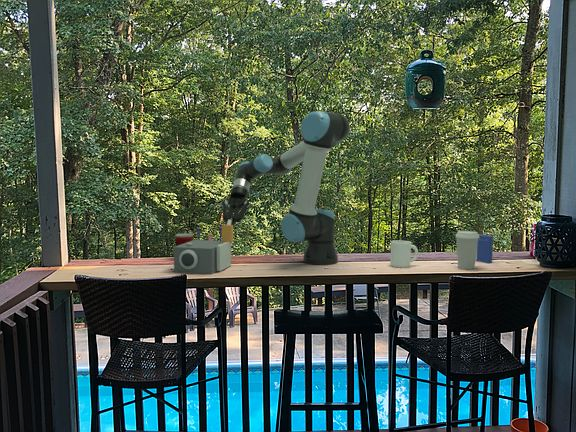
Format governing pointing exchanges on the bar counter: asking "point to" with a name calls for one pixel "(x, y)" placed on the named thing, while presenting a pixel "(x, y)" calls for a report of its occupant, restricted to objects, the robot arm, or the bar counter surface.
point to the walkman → (484, 249)
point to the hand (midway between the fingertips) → (227, 233)
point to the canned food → (183, 238)
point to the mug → (402, 253)
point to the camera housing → (196, 257)
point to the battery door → (225, 248)
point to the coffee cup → (466, 249)
